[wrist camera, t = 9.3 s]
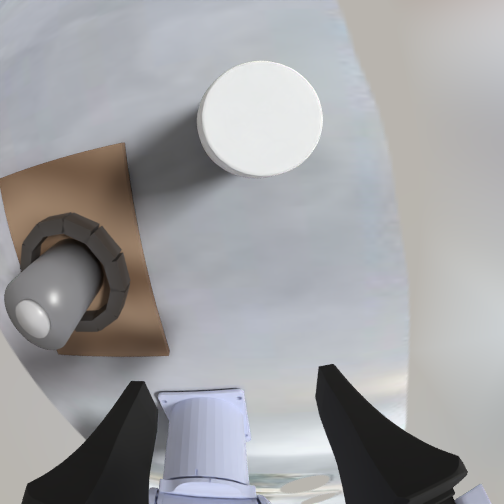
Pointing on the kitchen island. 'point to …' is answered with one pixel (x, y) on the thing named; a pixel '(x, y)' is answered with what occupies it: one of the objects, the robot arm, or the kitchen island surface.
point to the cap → (54, 293)
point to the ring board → (90, 245)
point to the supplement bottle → (259, 119)
